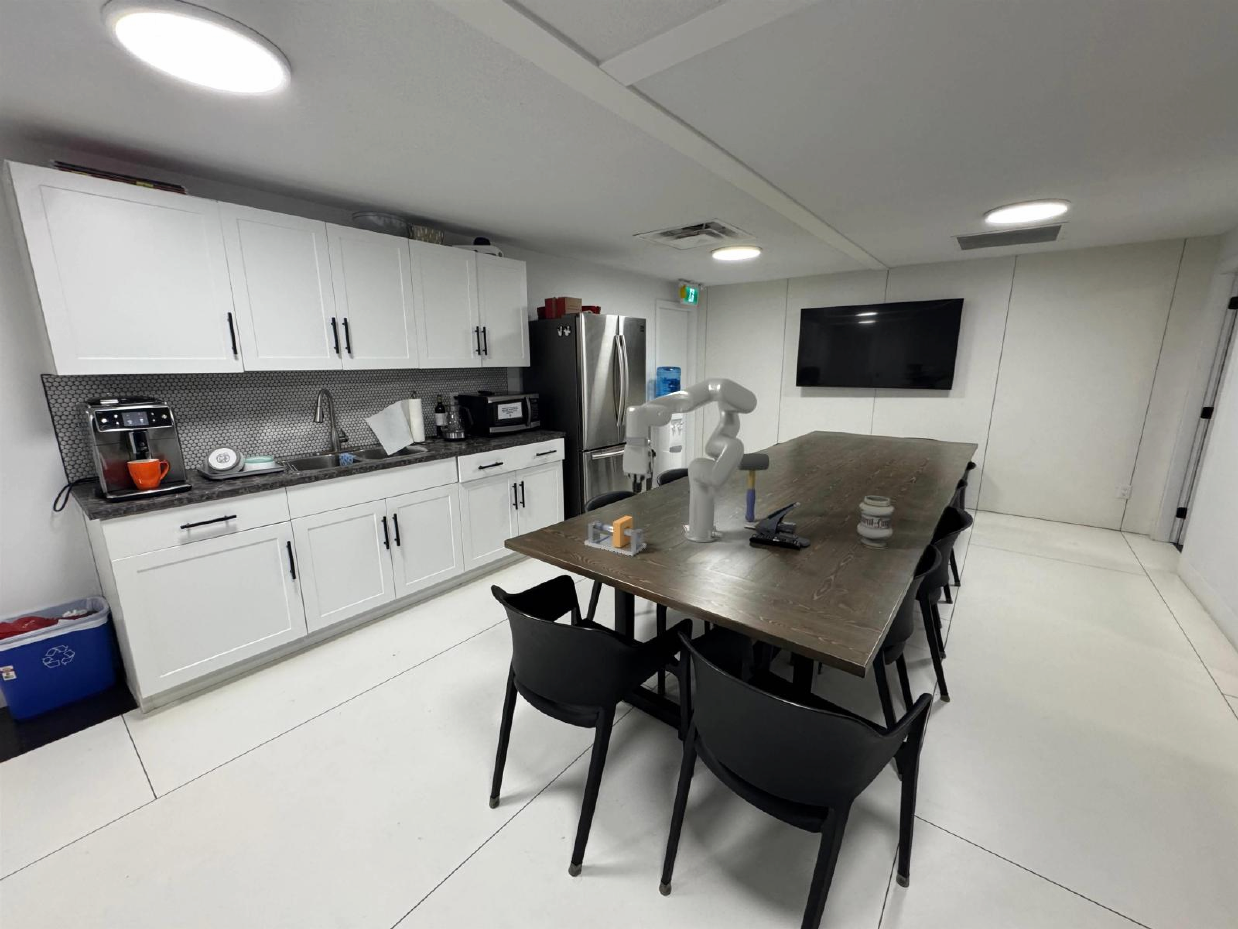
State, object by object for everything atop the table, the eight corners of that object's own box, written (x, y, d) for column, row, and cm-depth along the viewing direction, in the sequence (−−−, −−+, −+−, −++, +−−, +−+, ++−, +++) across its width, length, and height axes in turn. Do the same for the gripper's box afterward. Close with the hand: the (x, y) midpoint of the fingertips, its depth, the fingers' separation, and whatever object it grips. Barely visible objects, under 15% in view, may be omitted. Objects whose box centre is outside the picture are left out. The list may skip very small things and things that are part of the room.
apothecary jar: (848, 540, 184) (852, 495, 181) (872, 537, 188) (877, 492, 184) (873, 551, 173) (878, 503, 169) (899, 548, 176) (904, 500, 173)
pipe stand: (646, 547, 178) (646, 527, 177) (632, 556, 170) (632, 535, 168) (599, 537, 189) (599, 518, 188) (584, 544, 181) (584, 525, 179)
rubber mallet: (761, 518, 212) (765, 451, 206) (766, 523, 204) (770, 454, 199) (733, 518, 212) (736, 451, 206) (737, 524, 204) (740, 454, 199)
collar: (632, 540, 180) (632, 517, 178) (619, 547, 173) (619, 523, 171) (625, 538, 182) (625, 515, 180) (613, 545, 174) (612, 522, 173)
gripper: (661, 441, 166) (660, 493, 169) (624, 438, 174) (624, 487, 177) (651, 444, 160) (650, 498, 163) (613, 441, 167) (613, 492, 171)
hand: (637, 492), depth 170 cm, fingers closed
